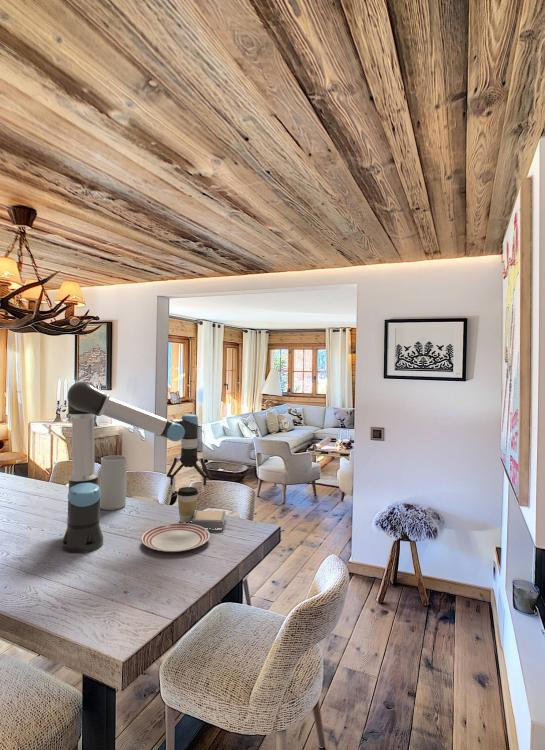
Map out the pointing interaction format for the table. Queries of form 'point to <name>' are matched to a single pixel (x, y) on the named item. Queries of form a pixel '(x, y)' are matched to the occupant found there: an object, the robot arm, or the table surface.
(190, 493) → the coffee cup
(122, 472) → the cylinder vase
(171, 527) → the dinner plate
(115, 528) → the table surface
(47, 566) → the table surface
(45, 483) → the table surface
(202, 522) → the trivet base
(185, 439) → the robot arm
